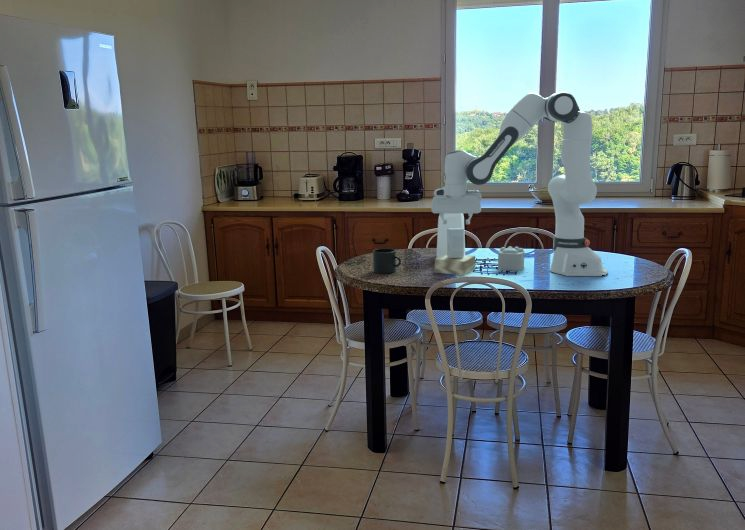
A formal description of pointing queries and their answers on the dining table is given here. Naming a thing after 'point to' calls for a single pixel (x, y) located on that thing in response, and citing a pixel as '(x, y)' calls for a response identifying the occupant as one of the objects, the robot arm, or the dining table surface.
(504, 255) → the lumpy-topped squat cylinder
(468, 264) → the birch block
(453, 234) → the skincare box
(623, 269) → the dining table surface
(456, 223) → the milk
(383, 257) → the mug
